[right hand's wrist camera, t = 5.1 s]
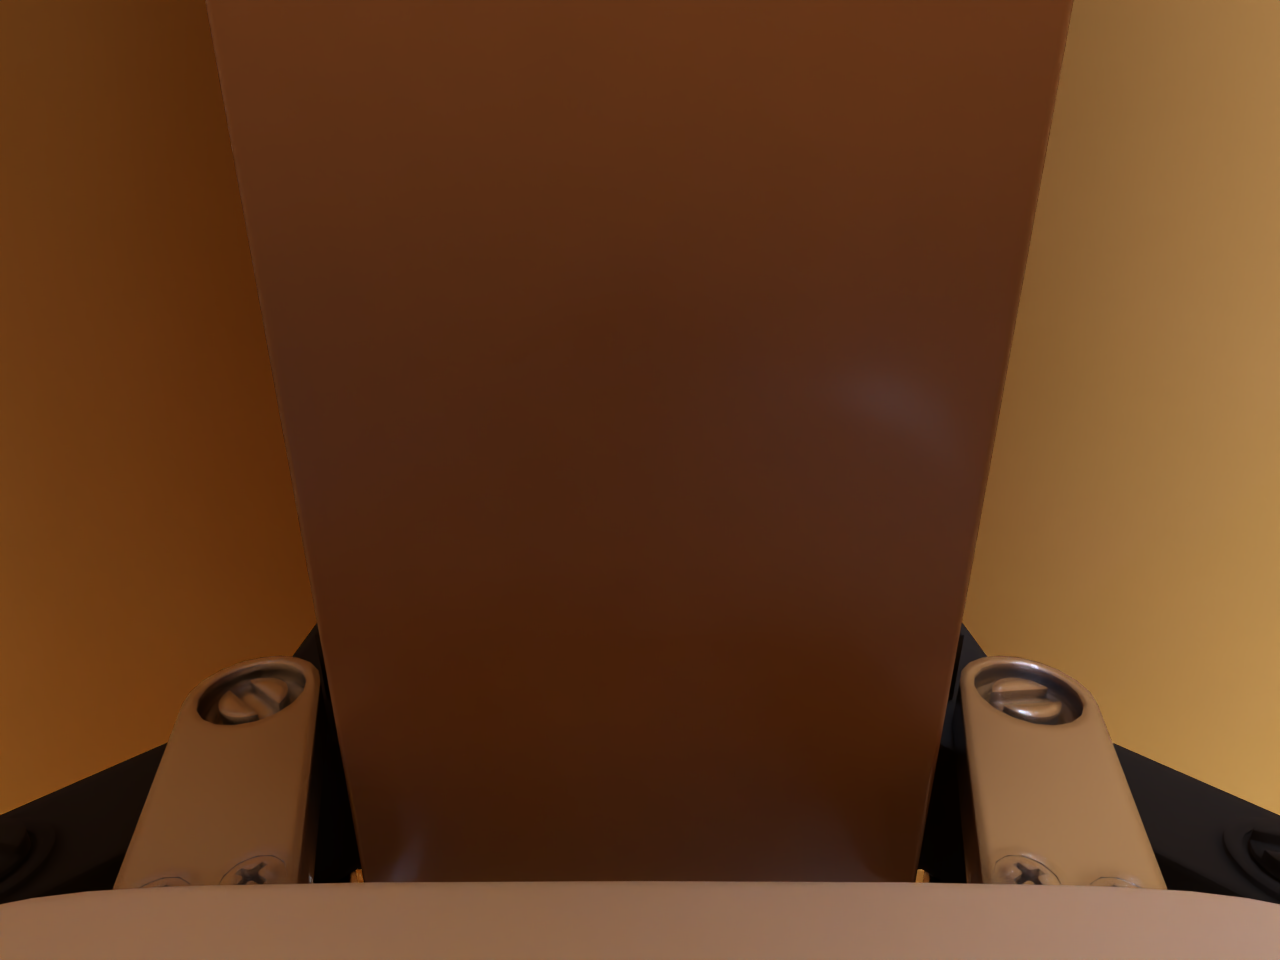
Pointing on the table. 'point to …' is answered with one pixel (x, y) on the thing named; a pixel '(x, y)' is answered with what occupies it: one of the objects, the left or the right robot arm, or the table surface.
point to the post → (639, 408)
